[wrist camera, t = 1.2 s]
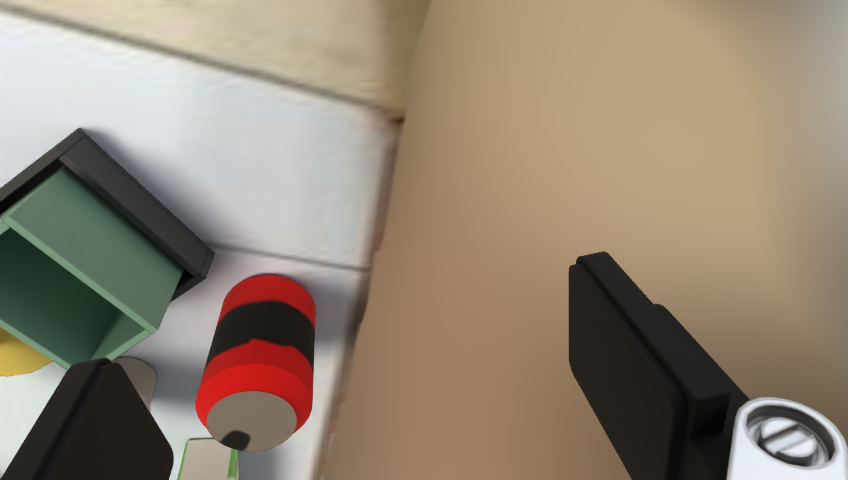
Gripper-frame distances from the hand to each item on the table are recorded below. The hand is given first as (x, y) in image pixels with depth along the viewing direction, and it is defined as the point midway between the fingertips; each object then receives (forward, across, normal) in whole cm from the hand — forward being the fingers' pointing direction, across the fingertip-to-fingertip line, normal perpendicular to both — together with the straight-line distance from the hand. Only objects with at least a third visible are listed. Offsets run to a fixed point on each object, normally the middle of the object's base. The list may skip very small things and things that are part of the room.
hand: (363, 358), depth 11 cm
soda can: (+29, +10, +18) cm, 36 cm away
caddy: (+28, +19, +8) cm, 35 cm away
